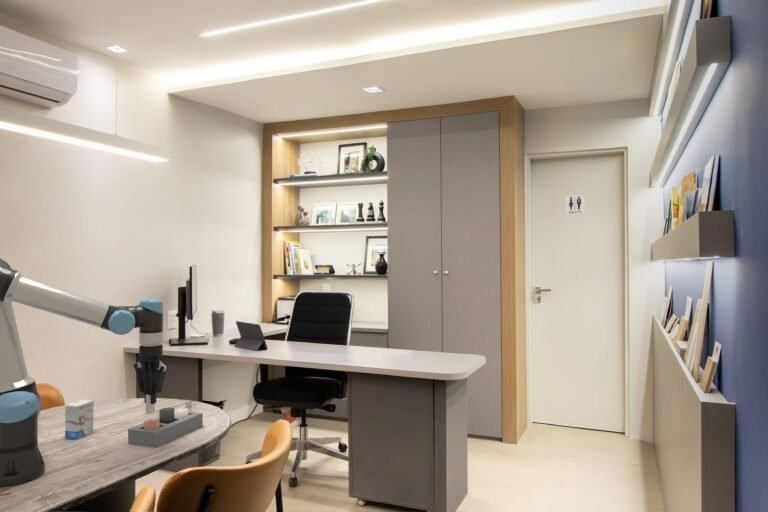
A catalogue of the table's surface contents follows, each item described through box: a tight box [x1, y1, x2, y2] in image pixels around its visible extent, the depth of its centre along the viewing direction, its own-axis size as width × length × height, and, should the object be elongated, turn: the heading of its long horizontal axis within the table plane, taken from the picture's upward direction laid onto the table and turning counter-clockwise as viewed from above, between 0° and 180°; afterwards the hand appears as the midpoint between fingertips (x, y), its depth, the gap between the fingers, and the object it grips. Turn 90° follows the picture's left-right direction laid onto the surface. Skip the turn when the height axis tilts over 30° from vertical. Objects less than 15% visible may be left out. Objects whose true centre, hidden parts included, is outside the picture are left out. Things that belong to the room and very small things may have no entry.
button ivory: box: [174, 407, 189, 418], centre depth 209 cm, size 5×5×6 cm
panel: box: [127, 411, 204, 448], centre depth 202 cm, size 24×12×5 cm, turn 160°
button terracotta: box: [143, 418, 160, 430], centre depth 195 cm, size 5×5×6 cm
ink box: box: [64, 399, 95, 440], centre depth 202 cm, size 9×5×12 cm, turn 168°
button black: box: [158, 407, 175, 424], centre depth 202 cm, size 5×5×6 cm
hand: (150, 412), depth 195 cm, fingers closed
